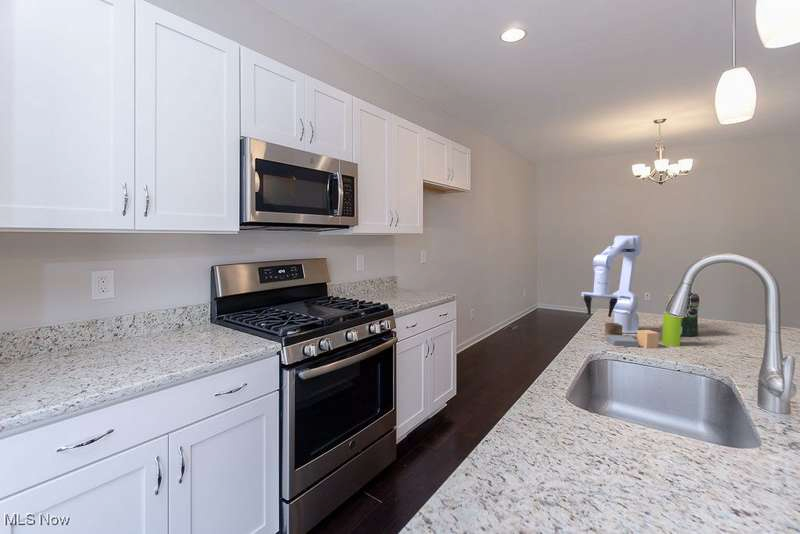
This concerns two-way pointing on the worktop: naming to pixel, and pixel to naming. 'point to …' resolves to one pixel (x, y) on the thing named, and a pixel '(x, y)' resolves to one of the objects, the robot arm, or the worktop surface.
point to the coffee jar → (691, 318)
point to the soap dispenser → (671, 330)
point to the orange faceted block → (648, 338)
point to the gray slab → (621, 340)
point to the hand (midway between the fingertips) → (599, 315)
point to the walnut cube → (613, 329)
